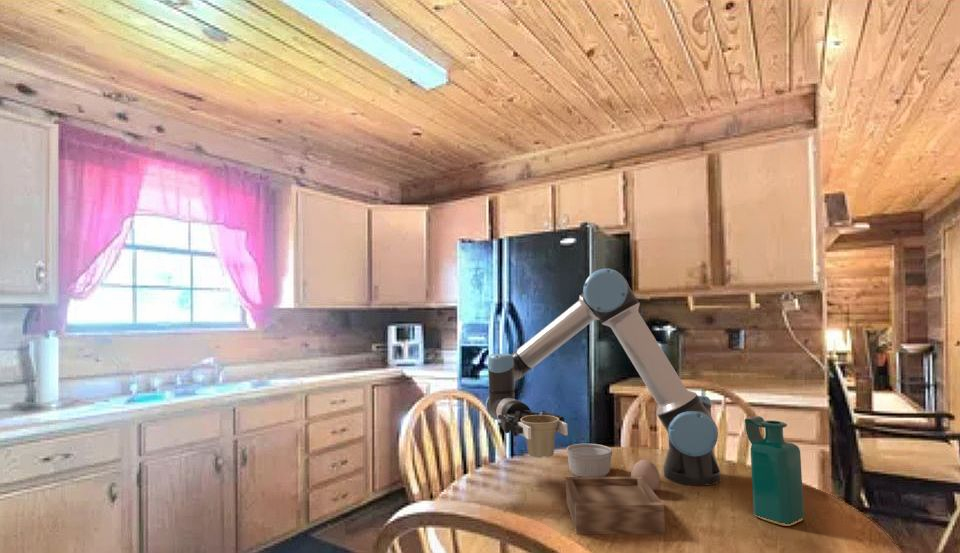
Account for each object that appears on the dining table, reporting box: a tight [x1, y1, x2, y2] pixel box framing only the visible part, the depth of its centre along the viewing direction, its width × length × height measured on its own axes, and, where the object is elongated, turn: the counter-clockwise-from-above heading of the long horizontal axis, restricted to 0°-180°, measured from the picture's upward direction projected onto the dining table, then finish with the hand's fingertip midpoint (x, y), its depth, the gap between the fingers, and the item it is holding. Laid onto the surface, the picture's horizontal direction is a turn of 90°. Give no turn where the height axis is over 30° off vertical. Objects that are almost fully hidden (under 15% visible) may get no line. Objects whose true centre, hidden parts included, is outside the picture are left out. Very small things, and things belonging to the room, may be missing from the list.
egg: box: [630, 459, 660, 492], centre depth 140 cm, size 7×7×8 cm
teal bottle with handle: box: [744, 415, 805, 524], centre depth 122 cm, size 10×8×22 cm
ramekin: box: [566, 443, 613, 477], centre depth 157 cm, size 13×13×7 cm
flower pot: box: [520, 415, 559, 459], centre depth 129 cm, size 9×9×9 cm
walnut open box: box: [565, 476, 666, 535], centre depth 124 cm, size 19×19×6 cm
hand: (548, 431), depth 125 cm, fingers closed on flower pot, 9 cm apart
